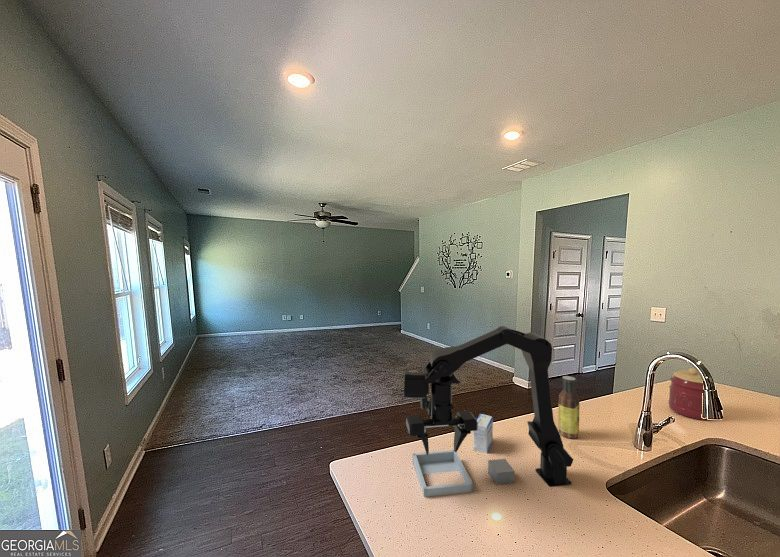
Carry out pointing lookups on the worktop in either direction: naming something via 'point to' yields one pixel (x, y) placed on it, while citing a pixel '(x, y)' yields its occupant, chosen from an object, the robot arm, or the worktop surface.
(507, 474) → the block
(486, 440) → the medicine box
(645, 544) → the worktop surface
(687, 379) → the canister
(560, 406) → the sauce bottle
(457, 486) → the tray
